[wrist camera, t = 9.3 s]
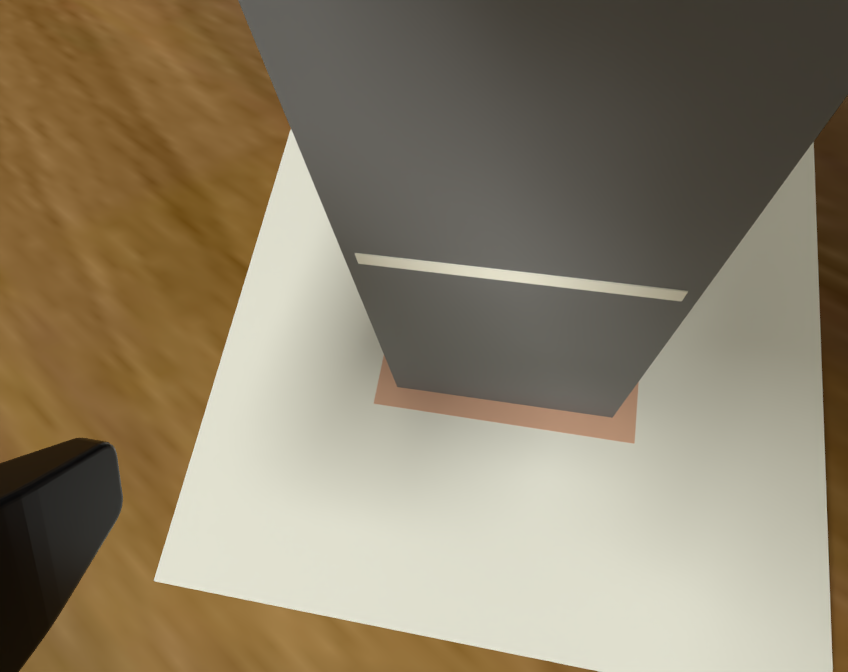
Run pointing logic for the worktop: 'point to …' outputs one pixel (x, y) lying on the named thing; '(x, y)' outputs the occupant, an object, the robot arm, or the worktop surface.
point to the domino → (545, 169)
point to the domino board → (524, 472)
